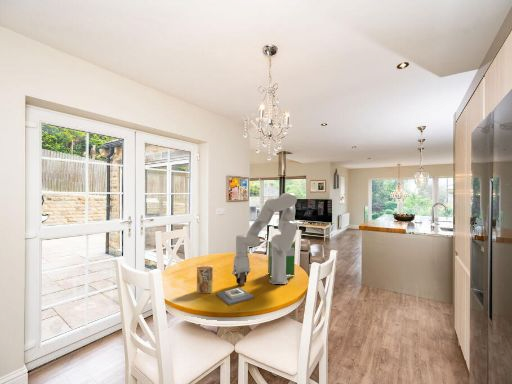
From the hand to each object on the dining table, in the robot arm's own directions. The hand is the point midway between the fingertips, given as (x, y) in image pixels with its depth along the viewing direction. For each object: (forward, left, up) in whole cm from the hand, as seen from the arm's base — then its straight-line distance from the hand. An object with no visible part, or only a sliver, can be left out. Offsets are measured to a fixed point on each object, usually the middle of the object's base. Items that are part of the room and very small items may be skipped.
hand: (241, 282), depth 154 cm
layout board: (+12, +13, -1) cm, 18 cm away
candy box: (+24, -2, -2) cm, 24 cm away
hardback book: (-34, 0, -2) cm, 34 cm away
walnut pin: (0, 0, -1) cm, 1 cm away
